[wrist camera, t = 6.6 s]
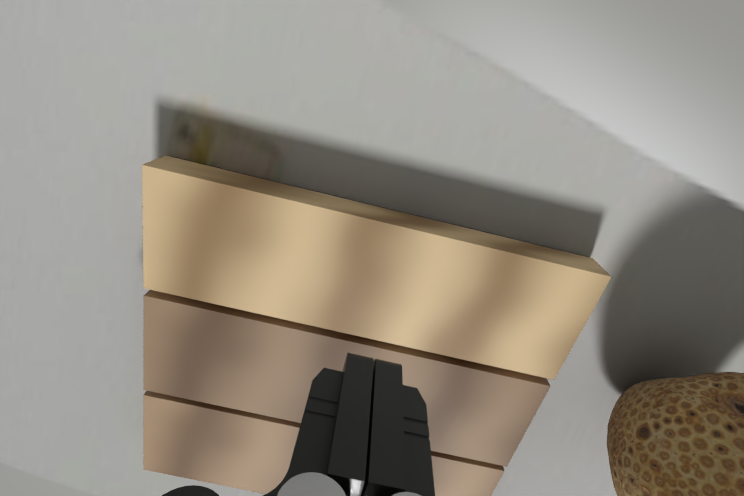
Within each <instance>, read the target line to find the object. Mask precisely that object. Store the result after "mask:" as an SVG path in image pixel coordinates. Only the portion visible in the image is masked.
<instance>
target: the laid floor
mask: <svg viewBox="0 0 744 496" xmlns="http://www.w3.org/2000/svg"><path fill="white" fill-rule="evenodd" d="M347 353H352V354H357V355H361V356H366V357H370V358H373V359H374V360H375V359H380V360H384V361H389V362H393V363H398V364H401V365H402V379H403V385H406V386H410V387H415V388H418V390H419V392H420V394H421V396H422V398H423V399H424V401H425V403H426V406H427V417H428V427H429V440H430V447H431V458H432V468H433V478H434V488H435V496H491V495H492V493H493V491H494V489H495V487H496V486H497V484H498V482H499V480H500V478H501V476H502V474H503V473H504V468H503V466H506V467H507V465H508V463H509V462H510V460H511V458H512V456H513V454H514V452H515V451H516V449H517V447H518V445H519V443H520V441H521V439H522V438H523V436H524V434H525V432H526V430H527V428H528V427H529V425H530V423H531V421H532V419H533V417H534V415H535V414H536V412H537V410H538V408H539V406H540V404H541V403H542V401H543V399H544V397H545V395H546V393H547V392H548V390H549V388H550V384H549V382H548V381H547V379H546V378H543V377H539V376H534V375H530V374H525V373H521V372H516V371H512V370H507V369H503V368H498V367H494V366H489V365H485V364H480V363H476V362H471V361H467V360H463V359H458V358H454V357H449V356H445V355H440V354H436V353H431V352H427V351H422V350H418V349H413V348H409V347H404V346H400V345H395V344H391V343H387V342H382V341H378V340H373V339H369V338H364V337H360V336H355V335H351V334H346V333H342V332H337V331H333V330H328V329H324V328H320V327H315V326H311V325H306V324H302V323H297V322H293V321H288V320H284V319H279V318H275V317H270V316H266V315H261V314H257V313H252V312H248V311H244V310H239V309H235V308H230V307H226V306H221V305H217V304H212V303H208V302H203V301H199V300H194V299H190V298H185V297H181V296H176V295H172V294H168V293H163V292H159V291H154V290H149V291H148V292H147V293H146V294H145V295H144V390H146V393H145V394H144V470H149V471H154V472H159V473H164V474H169V475H174V476H179V477H184V478H189V479H194V480H199V481H204V482H208V483H213V484H218V485H223V486H228V487H233V488H238V489H243V490H248V491H253V492H258V493H263V494H267V493H269V492H270V491H272V490H273V489H275V488H276V487H277V486H278V485H279V484H280V483H281V481H282V480H283V479H284V477H285V475H286V474H287V472H288V469H289V466H290V462H291V458H292V455H293V451H294V447H295V443H296V440H297V436H298V432H299V429H300V425H301V421H302V417H303V414H304V410H305V406H306V403H307V399H308V395H309V391H310V388H311V384H312V380H313V379H314V378H315V377H316V376H317V375H318V374H319V372H320V371H321V370H322V369H323V368H328V369H333V370H337V371H343V367H344V363H345V359H346V355H347Z"/></svg>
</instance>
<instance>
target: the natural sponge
mask: <svg viewBox="0 0 744 496" xmlns="http://www.w3.org/2000/svg"><path fill="white" fill-rule="evenodd" d="M607 449H608V455H609V463H610V469H611V475H612V479H613V484H614V488H615V491H616V493H617V496H744V373H736V372H719V373H705V374H700V375H696V376H688V377H675V378H662V379H653V380H646V381H642V382H639V383H636V384H634V385H632V386H631V387H629V388H628V389H627V390H626V391H625V392H624V393H623V394H622V395H621V396H620V397H619V399H618V400H617V402H616V404H615V406H614V408H613V411H612V413H611V416H610V419H609V423H608V434H607Z"/></svg>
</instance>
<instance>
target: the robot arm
mask: <svg viewBox="0 0 744 496" xmlns="http://www.w3.org/2000/svg"><path fill="white" fill-rule="evenodd" d="M162 496H219V495H218V494H217V493H215V492H214V491H213V490H211V489H209V488H206V487H202V486H194V485H193V486H184V487H180V488H177V489H174V490H171V491H169V492H168V493H166V494H164V495H162ZM263 496H435V488H434V478H433V468H432V458H431V447H430V440H429V427H428V417H427V406H426V403H425V401H424V399H423V398H422V396H421V394H420V392H419V390H418V388H415V387H410V386H406V385H403V379H402V365H401V364H398V363H393V362H389V361H384V360H380V359H375V360H374V359H373V358H370V357H366V356H361V355H357V354H352V353H347V355H346V359H345V363H344V367H343V371H337V370H333V369H328V368H323V369H322V370H321V371H320V372H319V374H318V375H317V376H316V377H315V378H314V379H313V380H312V384H311V388H310V391H309V395H308V399H307V403H306V406H305V410H304V414H303V417H302V421H301V425H300V429H299V432H298V436H297V440H296V443H295V447H294V451H293V455H292V458H291V462H290V466H289V469H288V472H287V474H286V475H285V477H284V479H283V480H282V481H281V483H280V484H279V485H278V486H277V487H276V488H275V489H273V490H272V491H270V492H269V493H267V494H265V495H263Z"/></svg>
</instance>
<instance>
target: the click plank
mask: <svg viewBox="0 0 744 496" xmlns="http://www.w3.org/2000/svg"><path fill="white" fill-rule="evenodd" d="M142 187H143V270H144V288H145V289H150V290H154V291H159V292H163V293H168V294H172V295H176V296H181V297H185V298H190V299H194V300H199V301H203V302H208V303H212V304H217V305H221V306H226V307H230V308H235V309H239V310H244V311H248V312H252V313H257V314H261V315H266V316H270V317H275V318H279V319H284V320H288V321H293V322H297V323H302V324H306V325H311V326H315V327H320V328H324V329H328V330H333V331H337V332H342V333H346V334H351V335H355V336H360V337H364V338H369V339H373V340H378V341H382V342H387V343H391V344H395V345H400V346H404V347H409V348H413V349H418V350H422V351H427V352H431V353H436V354H440V355H445V356H449V357H454V358H458V359H463V360H467V361H471V362H476V363H480V364H485V365H489V366H494V367H498V368H503V369H507V370H512V371H516V372H521V373H525V374H530V375H534V376H539V377H543V378H547V379H552V380H554V379H555V377H556V375H557V373H558V372H559V370H560V368H561V366H562V364H563V363H564V361H565V359H566V357H567V356H568V354H569V352H570V350H571V348H572V347H573V345H574V343H575V341H576V339H577V338H578V336H579V334H580V332H581V331H582V329H583V327H584V325H585V323H586V322H587V320H588V318H589V316H590V315H591V313H592V311H593V309H594V307H595V306H596V304H597V302H598V300H599V299H600V297H601V295H602V293H603V291H604V290H605V288H606V286H607V284H608V282H609V281H610V279H611V276H610V275H609V274H608V273H607V272H606V271H605V270H604V269H603V268H602V267H601V266H600V265H599V264H598V263H597V262H596V261H595V260H594V259H593V258H590V257H585V256H581V255H577V254H573V253H569V252H565V251H561V250H556V249H552V248H548V247H544V246H540V245H536V244H531V243H527V242H523V241H519V240H515V239H511V238H506V237H502V236H498V235H494V234H490V233H486V232H482V231H477V230H473V229H469V228H465V227H461V226H457V225H452V224H448V223H444V222H440V221H436V220H432V219H427V218H423V217H419V216H415V215H411V214H407V213H403V212H398V211H394V210H390V209H386V208H382V207H378V206H373V205H369V204H365V203H361V202H357V201H353V200H348V199H344V198H340V197H336V196H332V195H328V194H324V193H319V192H315V191H311V190H307V189H303V188H299V187H294V186H290V185H286V184H282V183H278V182H274V181H269V180H265V179H261V178H257V177H253V176H249V175H245V174H240V173H236V172H232V171H228V170H224V169H220V168H215V167H211V166H207V165H203V164H199V163H195V162H190V161H186V160H182V159H178V158H174V157H170V156H163V157H161V158H158V159H156V160H153V161H151V162H148V163H146V164H143V165H142Z"/></svg>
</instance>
